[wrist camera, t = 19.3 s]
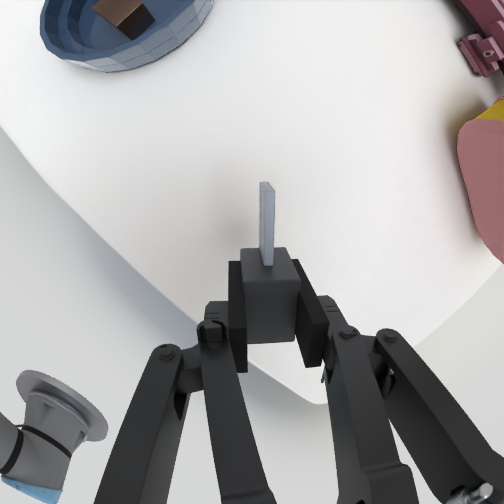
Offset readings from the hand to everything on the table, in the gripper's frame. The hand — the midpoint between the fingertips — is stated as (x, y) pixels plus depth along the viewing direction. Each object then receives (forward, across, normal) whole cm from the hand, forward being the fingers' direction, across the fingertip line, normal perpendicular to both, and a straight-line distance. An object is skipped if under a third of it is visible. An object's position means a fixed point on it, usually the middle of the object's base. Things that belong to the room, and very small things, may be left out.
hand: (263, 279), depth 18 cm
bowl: (+9, -11, +24) cm, 27 cm away
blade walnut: (+9, -12, +23) cm, 27 cm away
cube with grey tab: (0, 0, +2) cm, 2 cm away
